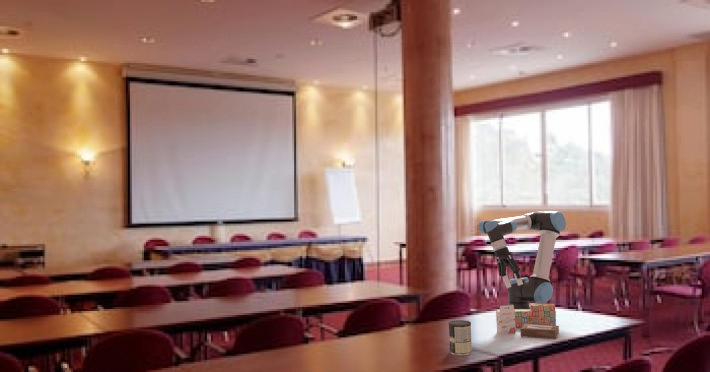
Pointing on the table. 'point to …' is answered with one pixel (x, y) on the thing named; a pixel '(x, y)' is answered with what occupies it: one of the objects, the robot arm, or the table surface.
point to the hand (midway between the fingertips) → (514, 286)
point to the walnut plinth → (540, 331)
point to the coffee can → (460, 337)
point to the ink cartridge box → (505, 320)
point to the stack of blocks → (536, 315)
